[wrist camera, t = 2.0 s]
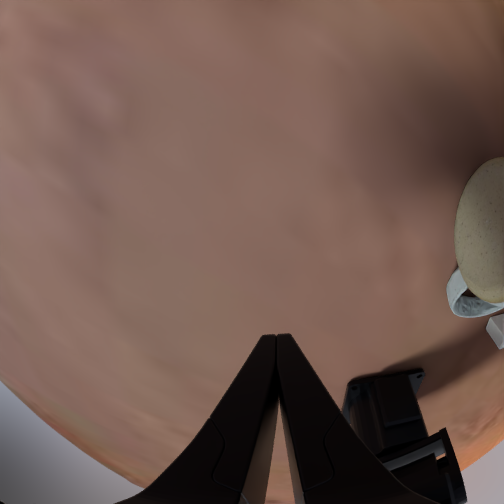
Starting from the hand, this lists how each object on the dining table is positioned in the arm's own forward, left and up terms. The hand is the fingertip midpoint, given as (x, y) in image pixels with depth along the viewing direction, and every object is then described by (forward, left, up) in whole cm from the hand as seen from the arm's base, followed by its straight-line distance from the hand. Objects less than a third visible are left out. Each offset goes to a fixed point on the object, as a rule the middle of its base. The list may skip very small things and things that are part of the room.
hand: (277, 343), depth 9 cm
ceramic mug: (0, -14, -7) cm, 16 cm away
